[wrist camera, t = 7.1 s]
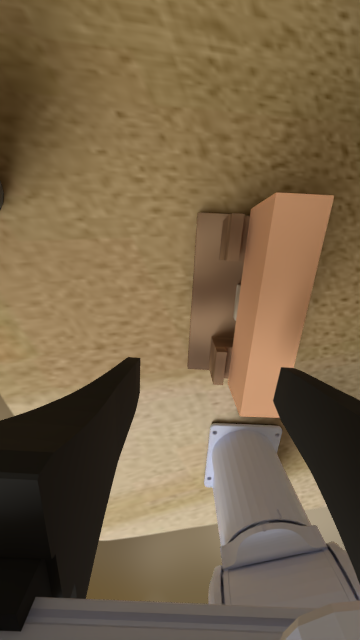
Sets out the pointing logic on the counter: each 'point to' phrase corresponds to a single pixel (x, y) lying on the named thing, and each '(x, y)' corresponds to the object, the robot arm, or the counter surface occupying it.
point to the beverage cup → (1, 195)
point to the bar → (275, 295)
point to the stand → (216, 291)
